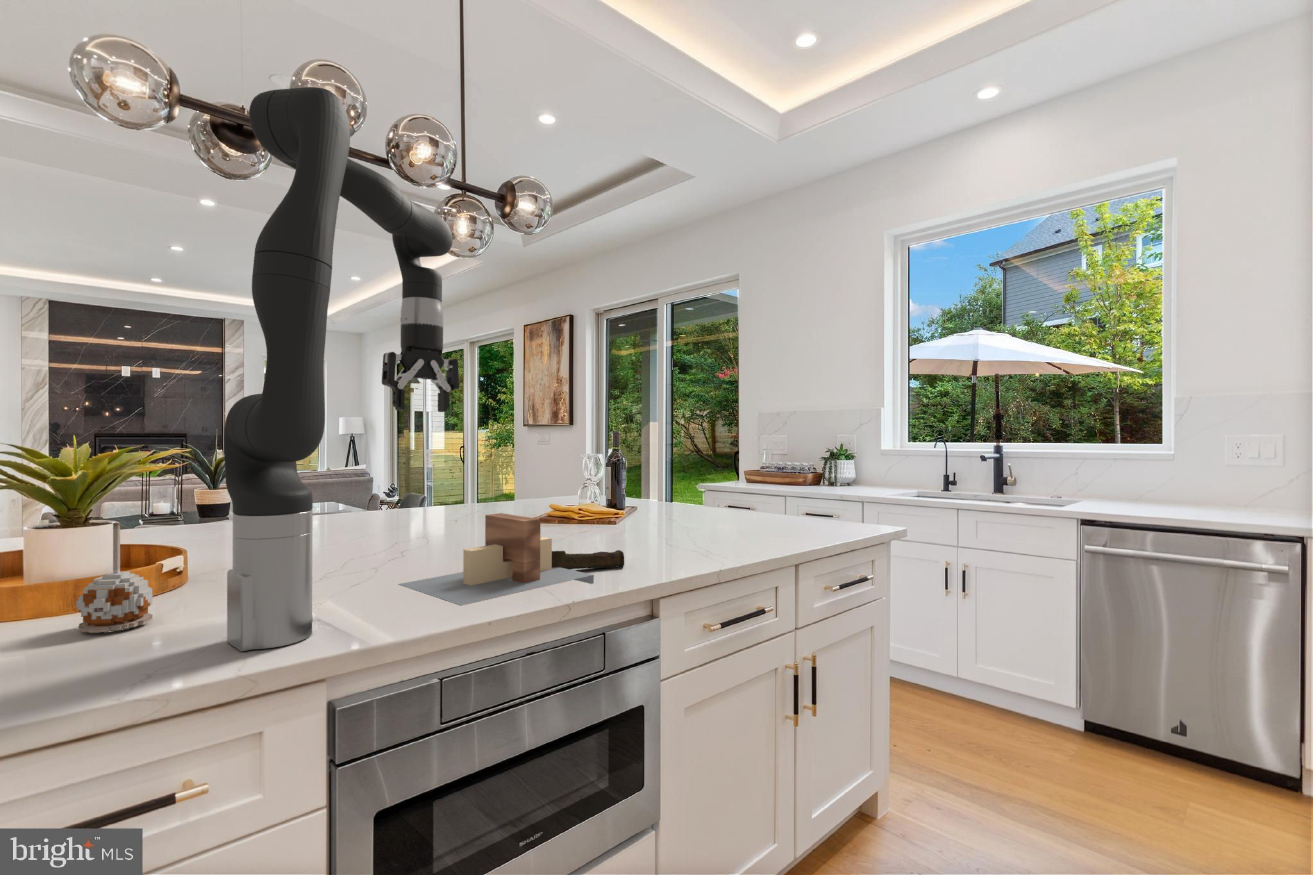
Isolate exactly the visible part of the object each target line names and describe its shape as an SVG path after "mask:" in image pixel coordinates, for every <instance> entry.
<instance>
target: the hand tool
mask: <svg viewBox="0 0 1313 875" xmlns="http://www.w3.org/2000/svg"><path fill="white" fill-rule="evenodd" d="M624 566H625V554H624V551H622V550H621V549H618V550H615V551H611V552H609V551H598V552H593V553H567V552H566V551H565V550H552V567H561V568H565V569H570V570H579V569H580V570H581V569H583V570H584V569H603V568H604V569H605V568H606V569H607V568H608V569H612V568H619V569H624Z"/></svg>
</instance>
